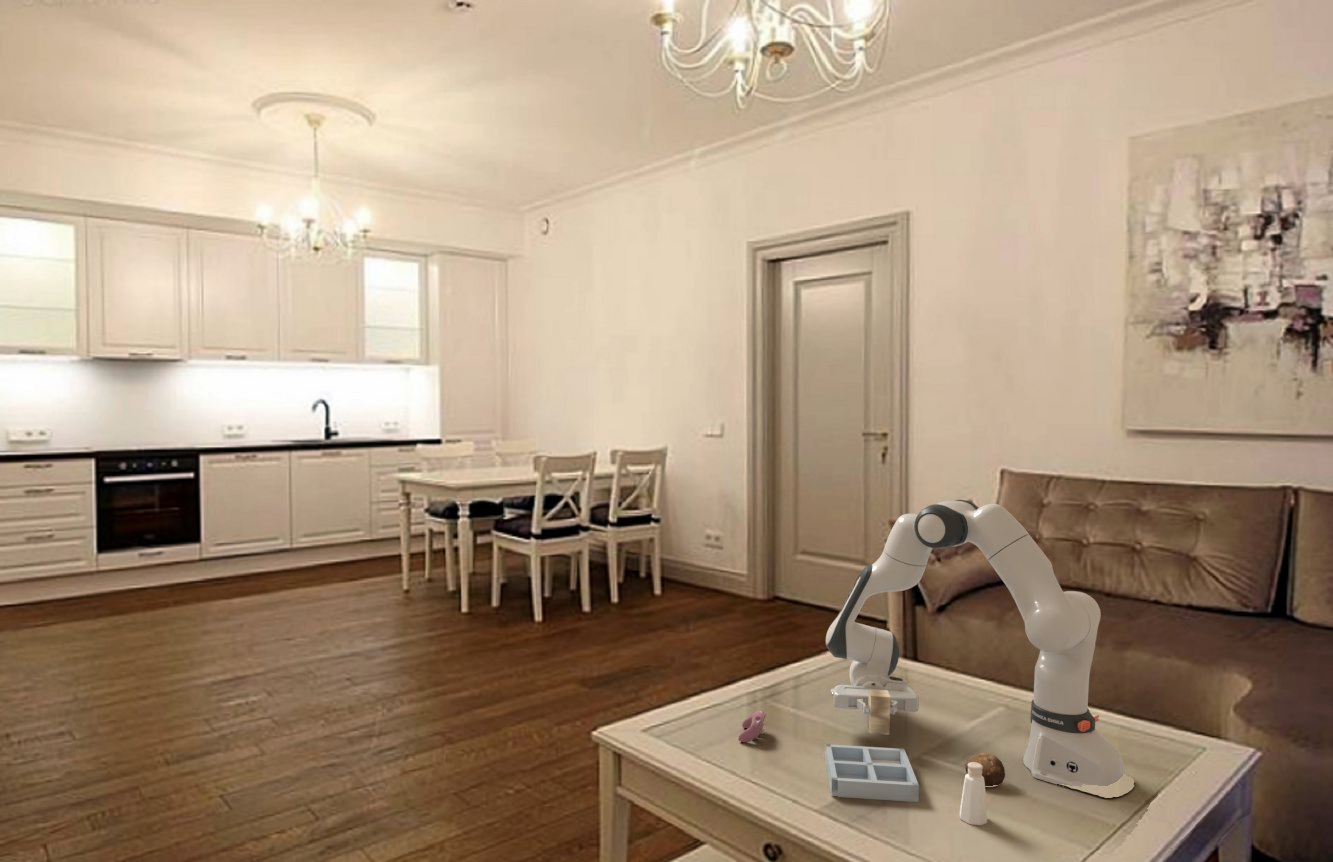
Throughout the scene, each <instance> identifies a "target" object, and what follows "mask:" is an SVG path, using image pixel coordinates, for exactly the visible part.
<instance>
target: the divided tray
mask: <svg viewBox="0 0 1333 862" xmlns="http://www.w3.org/2000/svg"><path fill="white" fill-rule="evenodd" d="M824 763H825V768H826V773H827V779H828V784H829V791H830V796H831V797H832V796H838V797H837V798H850V799H851V798H852V799H863V800H864V799H865V800H878V801H879V800H881V801H895V802H909V803H911V802H913V803H919V798H920V797H919V796H920V794H919V793H920V784H919V782H918V780H917V777H916V775H915V772H914V769H913V767H912V765H911V762H910V760H909V757H908V755H907V753H906V750H905V748H893V747H880V746H879V747H878V746H862V745H861V746H859V745H846V744H845V745H844V744H830V743H829V744H827V743H826V744H825V743H824Z"/></svg>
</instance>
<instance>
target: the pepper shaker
mask: <svg viewBox="0 0 1333 862" xmlns="http://www.w3.org/2000/svg"><path fill="white" fill-rule="evenodd" d="M982 769H983V766H982V765H981V764H979V763H976V762H970V763H968V774H967V773H966V774H965V776H964V780H963V781H964V782H963V787H962V792H961V794H962V795H961V799H960V800H961V801H960V807H959V818H960V820H961V821H963V822H965V823H966V824H968V825H974V826H982V825H984V824H985V825H986V824H987V823H988V815H987V814H988V813H987V799H986V798H987V796H986V787H985V782H984V777H983V776H982Z"/></svg>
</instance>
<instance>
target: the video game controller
mask: <svg viewBox="0 0 1333 862" xmlns="http://www.w3.org/2000/svg"><path fill="white" fill-rule="evenodd" d="M766 715H767V714H766V713H765V712H763V711H761V710H757V711H754V713H753V714H752V715H750V716H749V717H747V718H745V719H744V720H743V722H742V725H741V726H742V728H743V729H744V728H747V729H744V731H742V732H740V734H739V735H738V741H739V742H740V741H741V742H747V743H749V742H752V741H755V740H756V739H757V738H758V737H759V735H760V734H761V735H762V734H764V733H765V729H764V721H765V718H766ZM741 742H740V743H741Z"/></svg>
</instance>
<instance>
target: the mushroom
mask: <svg viewBox="0 0 1333 862" xmlns="http://www.w3.org/2000/svg"><path fill="white" fill-rule="evenodd" d="M970 762H976V763H979V764H981V765H982V766H983V769H982V776H983V777H984V782H985V786H993V785H999V784H1000V785H1001V784H1002V783H1003V782H1004V780H1005V778H1006V772H1005V771H1006V770H1005V766H1004V764H1003V763H1002V761H1001V759H999V758H998V756H996V755H994V754H992V753H986V752H980V753H977V754H973V755H972V756H971V757H969V758H968V759H967V761H966V763H965V764H964V768H965V773H966V774H968V763H970ZM1000 785H999V786H1000Z"/></svg>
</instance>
